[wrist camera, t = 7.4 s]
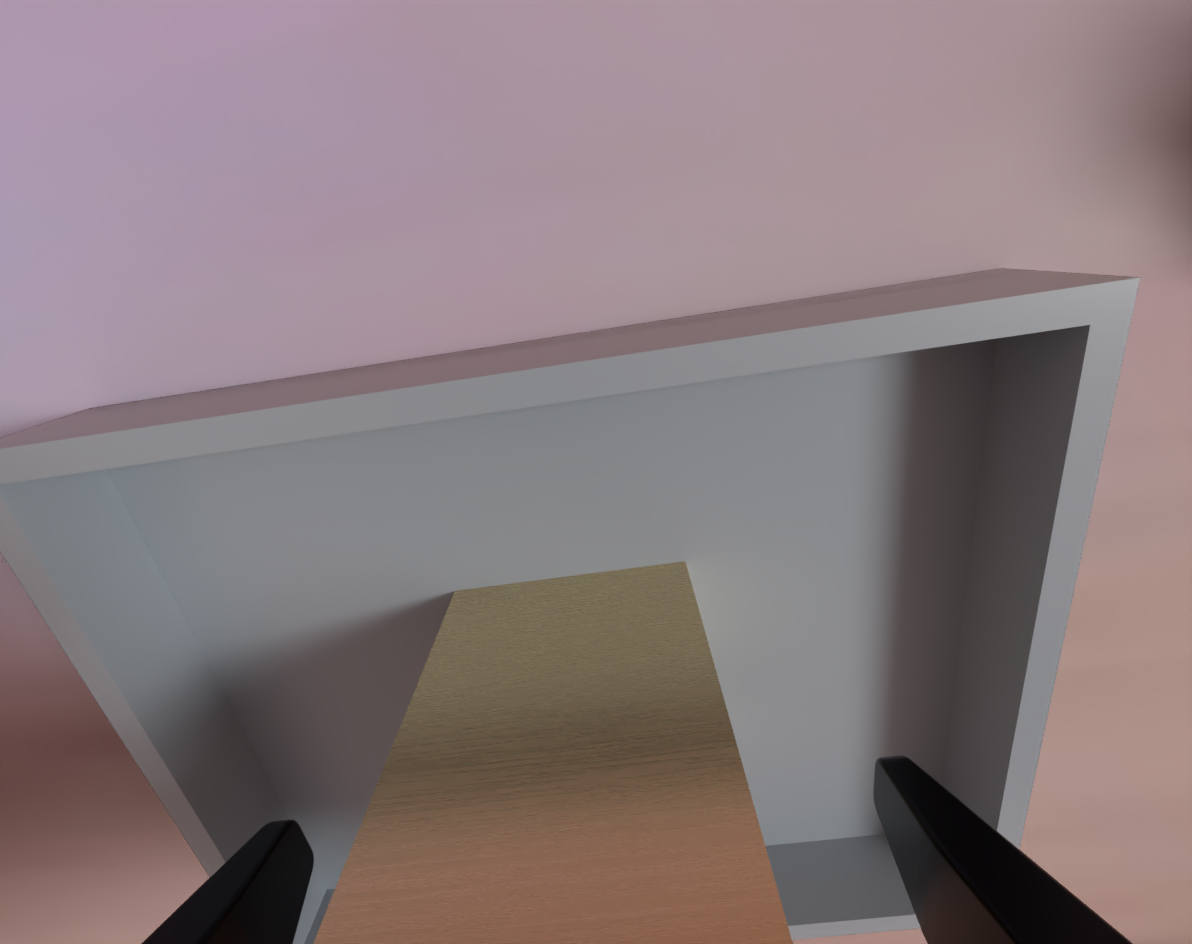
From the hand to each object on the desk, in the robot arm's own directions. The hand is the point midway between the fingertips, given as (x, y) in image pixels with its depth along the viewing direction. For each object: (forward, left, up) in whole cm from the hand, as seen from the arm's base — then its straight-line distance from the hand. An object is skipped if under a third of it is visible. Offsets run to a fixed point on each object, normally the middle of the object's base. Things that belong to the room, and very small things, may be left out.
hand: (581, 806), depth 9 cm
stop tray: (0, 0, -4) cm, 4 cm away
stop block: (0, 0, -3) cm, 3 cm away
